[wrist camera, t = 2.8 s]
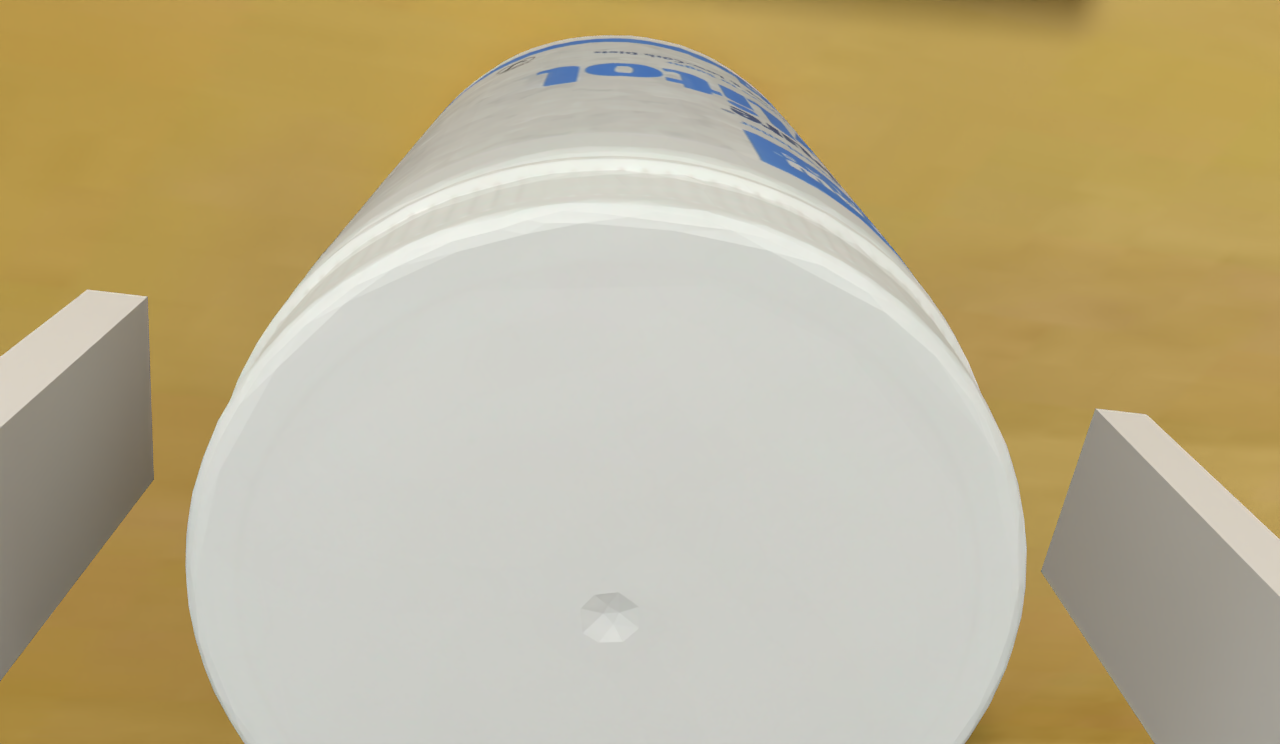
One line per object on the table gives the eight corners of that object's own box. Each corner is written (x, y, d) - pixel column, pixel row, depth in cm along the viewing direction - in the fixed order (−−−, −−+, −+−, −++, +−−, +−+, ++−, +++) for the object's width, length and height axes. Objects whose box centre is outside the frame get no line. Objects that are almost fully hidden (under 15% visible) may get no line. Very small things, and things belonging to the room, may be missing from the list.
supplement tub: (862, 76, 24) (1206, 287, 11) (761, 455, 28) (924, 975, 14) (421, -14, 23) (181, 96, 10) (374, 393, 27) (150, 893, 13)
